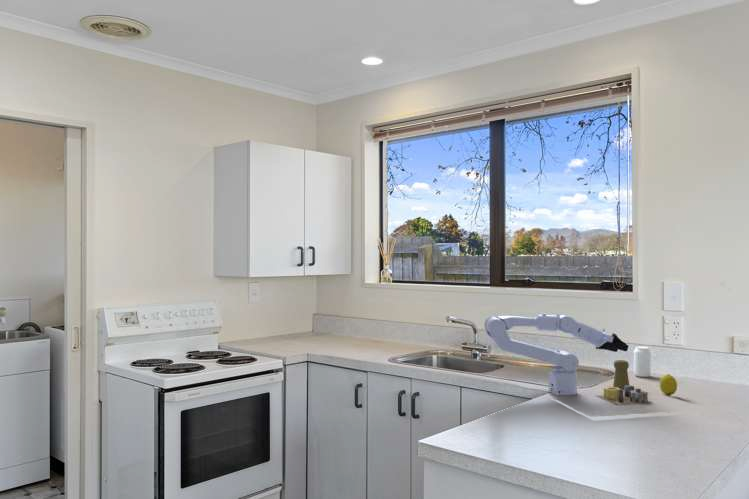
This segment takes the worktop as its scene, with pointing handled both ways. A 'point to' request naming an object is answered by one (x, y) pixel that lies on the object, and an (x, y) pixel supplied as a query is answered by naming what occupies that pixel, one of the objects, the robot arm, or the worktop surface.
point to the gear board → (615, 401)
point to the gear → (611, 392)
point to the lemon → (668, 385)
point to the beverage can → (642, 361)
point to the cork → (621, 374)
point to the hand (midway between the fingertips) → (622, 349)
